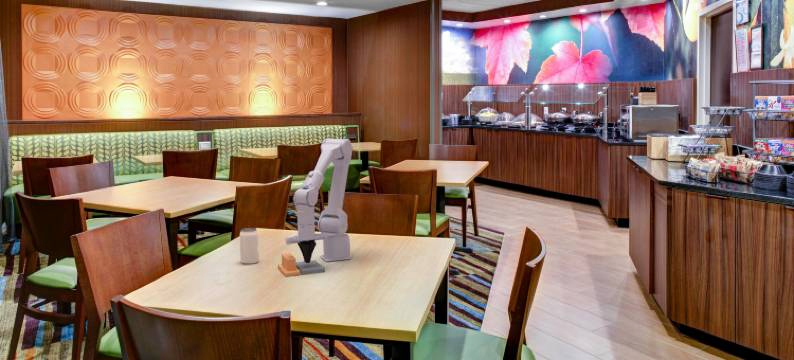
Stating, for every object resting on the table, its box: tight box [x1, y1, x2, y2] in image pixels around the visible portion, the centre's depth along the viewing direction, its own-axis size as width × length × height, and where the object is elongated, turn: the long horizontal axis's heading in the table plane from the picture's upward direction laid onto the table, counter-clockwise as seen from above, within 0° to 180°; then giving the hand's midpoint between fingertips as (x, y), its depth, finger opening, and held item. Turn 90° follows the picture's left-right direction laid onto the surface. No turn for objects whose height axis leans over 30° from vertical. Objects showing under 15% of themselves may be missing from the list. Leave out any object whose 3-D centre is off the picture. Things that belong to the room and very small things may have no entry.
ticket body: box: [296, 259, 326, 275], centre depth 212 cm, size 8×12×1 cm, turn 23°
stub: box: [277, 252, 301, 277], centre depth 209 cm, size 5×12×5 cm, turn 23°
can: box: [239, 227, 260, 265], centre depth 221 cm, size 6×6×12 cm
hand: (307, 262), depth 211 cm, fingers closed
